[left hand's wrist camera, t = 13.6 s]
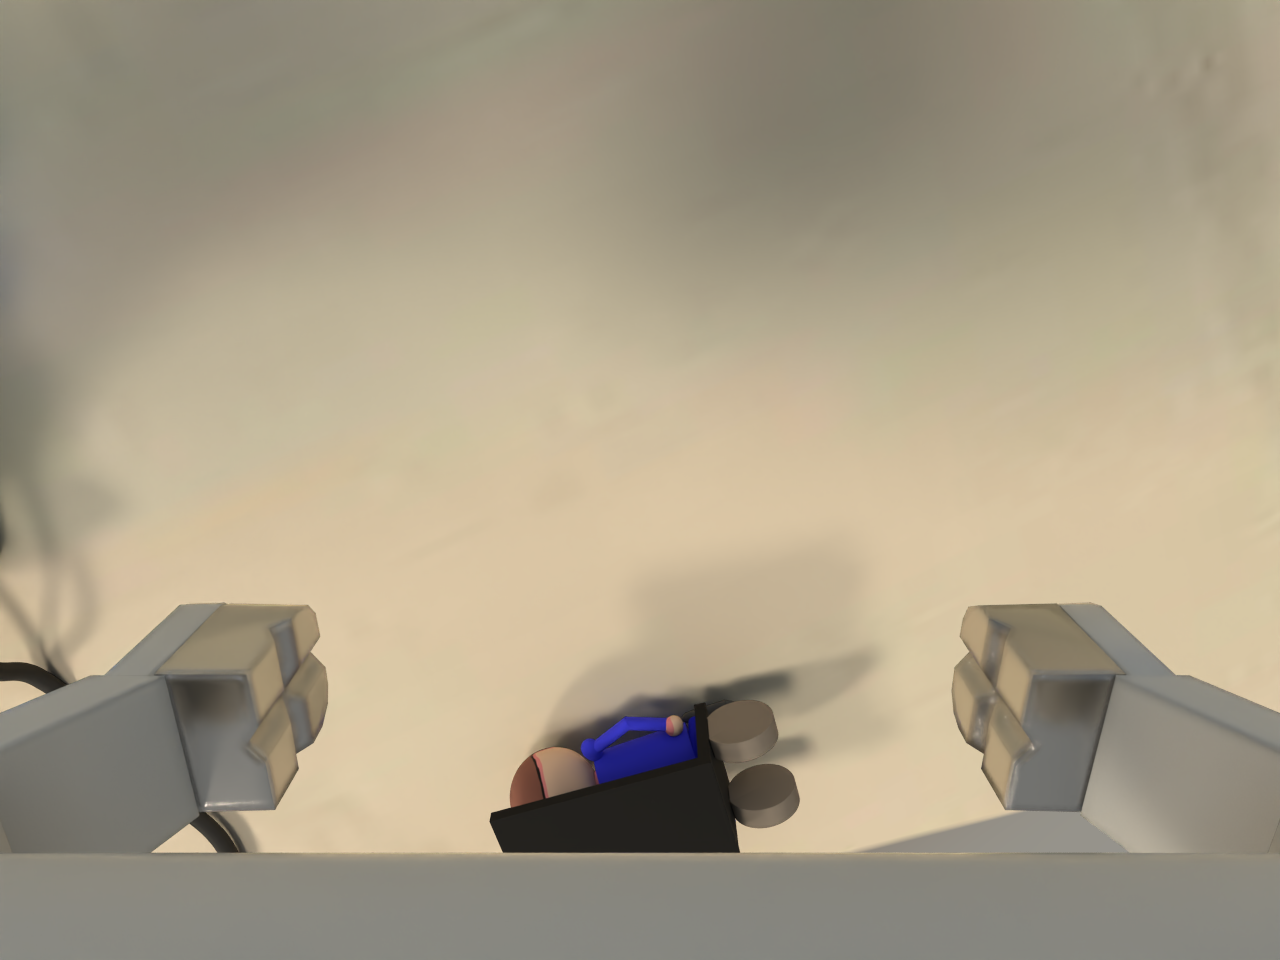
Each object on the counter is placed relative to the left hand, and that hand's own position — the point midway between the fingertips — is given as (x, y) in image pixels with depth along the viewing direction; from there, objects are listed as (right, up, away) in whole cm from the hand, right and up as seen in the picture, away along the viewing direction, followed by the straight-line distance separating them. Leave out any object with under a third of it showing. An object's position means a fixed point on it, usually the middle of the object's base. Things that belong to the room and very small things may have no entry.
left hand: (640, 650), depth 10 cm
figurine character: (0, -13, +36) cm, 38 cm away
